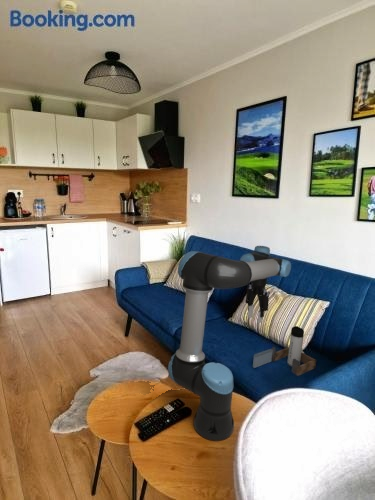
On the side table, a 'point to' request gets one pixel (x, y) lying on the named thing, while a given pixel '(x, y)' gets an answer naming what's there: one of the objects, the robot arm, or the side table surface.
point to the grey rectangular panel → (262, 358)
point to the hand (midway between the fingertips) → (254, 319)
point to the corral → (295, 361)
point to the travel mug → (295, 345)
